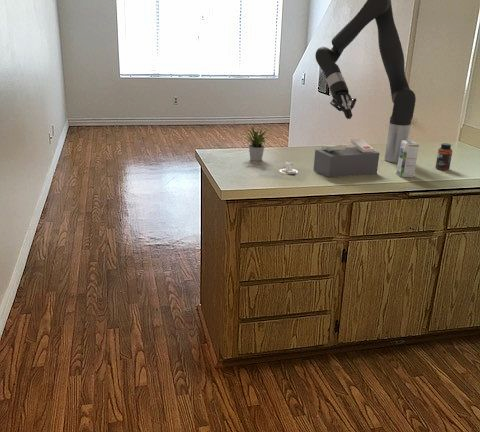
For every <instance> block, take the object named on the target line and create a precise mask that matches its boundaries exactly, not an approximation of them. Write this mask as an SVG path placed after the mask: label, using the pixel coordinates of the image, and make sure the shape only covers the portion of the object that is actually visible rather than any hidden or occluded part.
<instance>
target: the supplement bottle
mask: <svg viewBox="0 0 480 432" xmlns="http://www.w3.org/2000/svg"><path fill="white" fill-rule="evenodd" d="M451 147H452V144H450V143H448V142H443V143H442V142H441V146H440V147H439V148H438V149H437V155H436V161H435V162H436V163H435V169H437V170H439V171H448V170H450V167H451V161H452V157H453V155H452V154H453V150H452V148H451Z"/></svg>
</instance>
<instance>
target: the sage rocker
mask: <svg viewBox="0 0 480 432" xmlns="http://www.w3.org/2000/svg"><path fill="white" fill-rule="evenodd" d="M321 149H327V151H339V150H340V149H346V145H341V144H340V145H335V144H330V145H328V144H327V145H321Z"/></svg>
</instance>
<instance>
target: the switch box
mask: <svg viewBox="0 0 480 432" xmlns="http://www.w3.org/2000/svg"><path fill="white" fill-rule="evenodd" d="M379 158H380V152H378V151H376V150H375V149H374V150H373V152H365V153H363V152H362V151H360V150H359V149H356V148H355V146H347V147H346V149H340V150H339V151H327V149H322V148H318V149H316V148H315V151H314V160H313V171H315V172H316V173H318V174H320V175H322V176H324V177H325V178H328V179H331V178H334V179H335V178H342V177H343V178H344V177H354V176H361V175H362V176H363V175H375V174H377V173H378V169H379V168H378V167H379V160H380V159H379Z"/></svg>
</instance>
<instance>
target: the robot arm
mask: <svg viewBox="0 0 480 432" xmlns="http://www.w3.org/2000/svg"><path fill="white" fill-rule="evenodd" d="M373 20H374V21H375V23H376V27H377V37H378V39H377V42H378V49H379V52H380V53H379V54H380V57H381V60H382V64H383V68H384V70H385V73H386V75H387V78H388V83H389V87H390V95H391V102H392V104H393V107H392V111H391V116H390V117H389V122H388V123H389V125H388V130H387V131H388V132H387V137H386V144H385V153H384V160H385V161H386V162H390V163H395V164H398V160H399V154H400V148H401V142H402V141H404V140H409V136H410V129H411V124H412V120H413V118H414V112H415V107H416V100H417V99H416V94H415V92H414V91H413V90H412V89H411V88H410V86H409V83H408V80H407V78H406V73H405V70H406V69H405V57H404V52H403V51H404V50H403V47H402V43H401V39H400V36H399V33H398V29H397V27H396V23H395V20H394V13H393V7H392V0H366V1H365V3H363V5H362V7H361V8H360V9H359V11H358V12H357V14H356V15H354V17H353V18H352V19H350V20H349V22H348V23H347V24H346V25H345V26H344V27H342V29H340V30H339V31H338V33H337V34H336V35H335V36H334V37H332V39H331V44H332V48H331V49H330V48H328V47H326V46H320V47H318V48H317V49H316V52H315V61H316V62H317V64H318V66H319V68H320V70H322V72H323V73H324V77H325V79H326V83H327V86H328V89H329V92H330V93H331V94H330V95H331V97H332V100H331V101H330V102H329V103H330V105H331V106H332V107H334V108H335V109H336V110H338V111H339V112H342V113H343V114H344V117H345V119H347V120H351V119H352V117H353V113H352V110H353V109H354V107H355V105H356V102H357V98H352V96H351V94H350V93H349V92H350V91H349V88H348V86H347V83H346V80H345V78H344V76H343V74H342V72H341V71H342V70H341V69H340V67H339V65H338V64H337V62H338V60H339V59H340V57H341V55H342V54H343V52H344V50H345V49H346V48H347V47H348V46H349V45H350V44H351V43H352V42H354V40H355V39H356V38H357V36H359V34H360V33H361V31H363V30H364V28H366V26H367V25H368V24H369V23H371V22H372V21H373Z"/></svg>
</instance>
